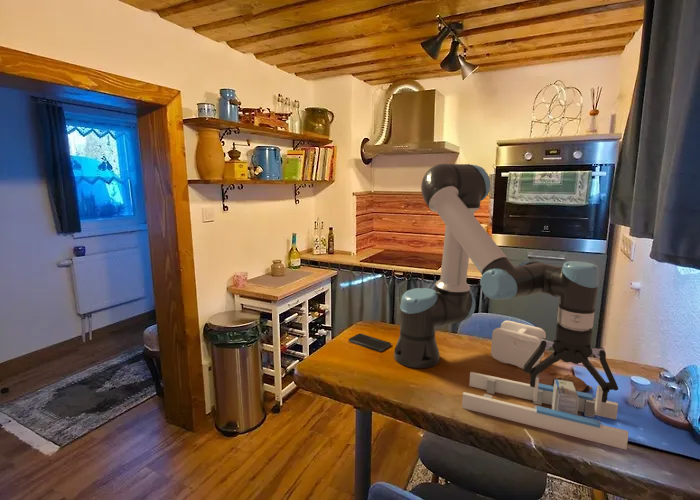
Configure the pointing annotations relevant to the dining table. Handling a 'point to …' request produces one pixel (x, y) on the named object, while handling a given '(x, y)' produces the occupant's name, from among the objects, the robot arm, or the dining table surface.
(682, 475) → the dining table surface
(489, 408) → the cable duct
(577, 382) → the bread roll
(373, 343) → the phone
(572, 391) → the medicine box
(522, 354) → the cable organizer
